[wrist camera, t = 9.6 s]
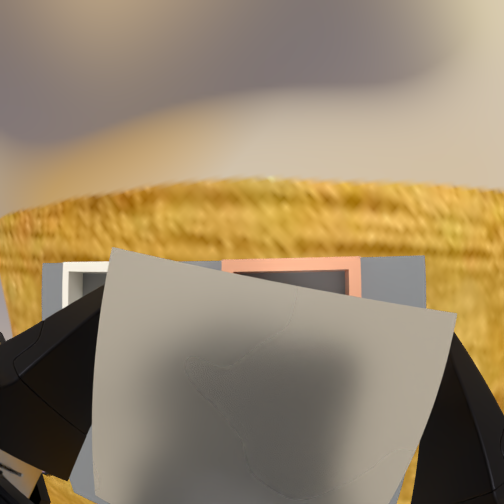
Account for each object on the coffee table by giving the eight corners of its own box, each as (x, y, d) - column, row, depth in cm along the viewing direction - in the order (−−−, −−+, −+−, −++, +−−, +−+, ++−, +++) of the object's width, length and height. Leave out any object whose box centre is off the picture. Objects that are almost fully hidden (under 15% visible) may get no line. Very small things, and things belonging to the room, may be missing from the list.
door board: (380, 529, 13) (387, 556, 10) (82, 486, 18) (61, 500, 14) (415, 258, 16) (439, 250, 13) (55, 265, 21) (24, 260, 17)
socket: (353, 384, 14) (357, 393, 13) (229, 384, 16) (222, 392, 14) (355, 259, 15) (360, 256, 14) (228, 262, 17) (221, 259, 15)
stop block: (320, 369, 15) (346, 564, 2) (247, 354, 16) (94, 495, 3) (336, 296, 15) (457, 313, 3) (262, 282, 16) (112, 247, 3)
